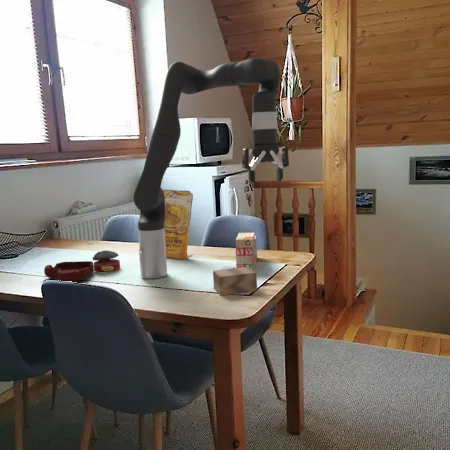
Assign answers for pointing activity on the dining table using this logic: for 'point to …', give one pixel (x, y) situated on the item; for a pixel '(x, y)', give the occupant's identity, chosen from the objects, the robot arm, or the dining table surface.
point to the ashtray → (70, 271)
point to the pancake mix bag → (177, 222)
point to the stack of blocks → (246, 250)
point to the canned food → (106, 261)
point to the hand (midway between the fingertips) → (266, 182)
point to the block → (226, 267)
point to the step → (235, 280)
